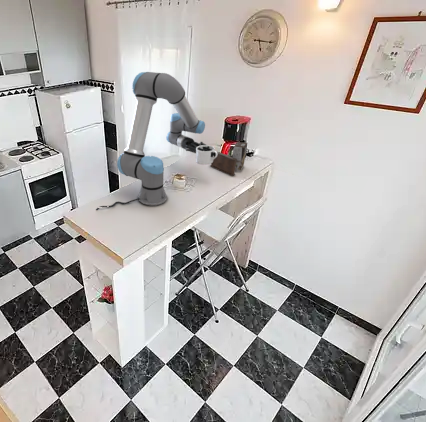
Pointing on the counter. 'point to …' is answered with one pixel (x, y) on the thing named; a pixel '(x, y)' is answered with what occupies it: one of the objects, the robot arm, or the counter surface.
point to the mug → (205, 155)
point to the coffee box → (239, 155)
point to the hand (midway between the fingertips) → (214, 154)
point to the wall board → (224, 164)
